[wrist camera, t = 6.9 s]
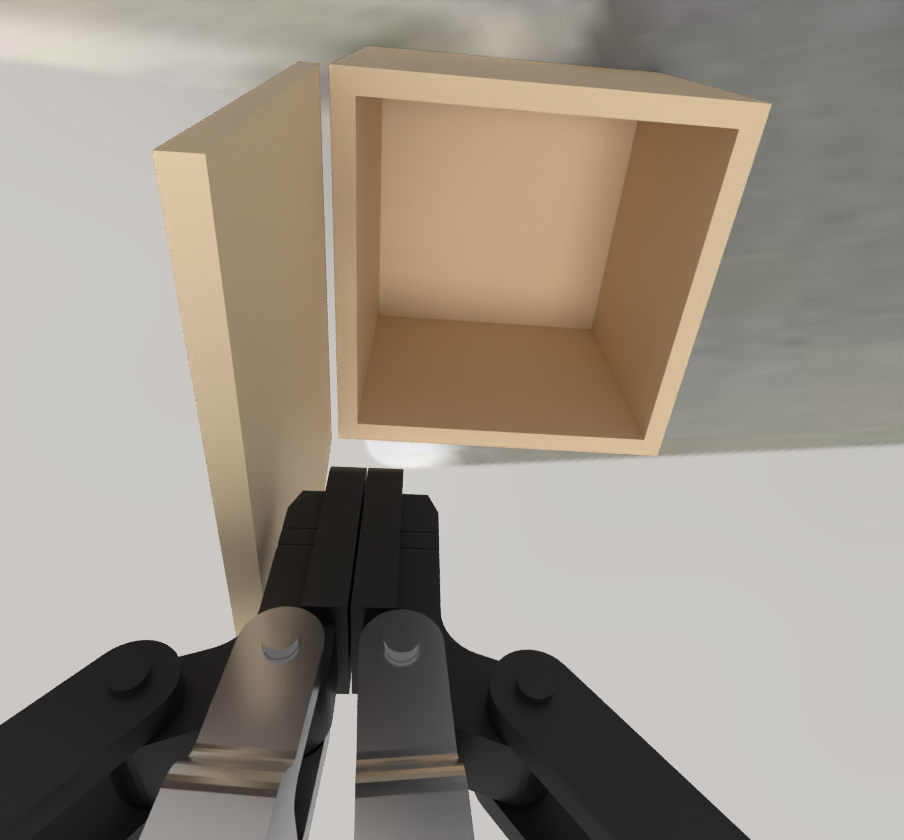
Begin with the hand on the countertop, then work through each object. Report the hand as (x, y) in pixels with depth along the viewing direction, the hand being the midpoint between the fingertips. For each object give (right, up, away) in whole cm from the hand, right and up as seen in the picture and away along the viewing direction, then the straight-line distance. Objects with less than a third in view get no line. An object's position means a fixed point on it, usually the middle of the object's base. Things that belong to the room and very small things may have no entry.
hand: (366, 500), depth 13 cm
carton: (+4, +13, +20) cm, 24 cm away
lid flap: (-2, +3, +4) cm, 5 cm away
